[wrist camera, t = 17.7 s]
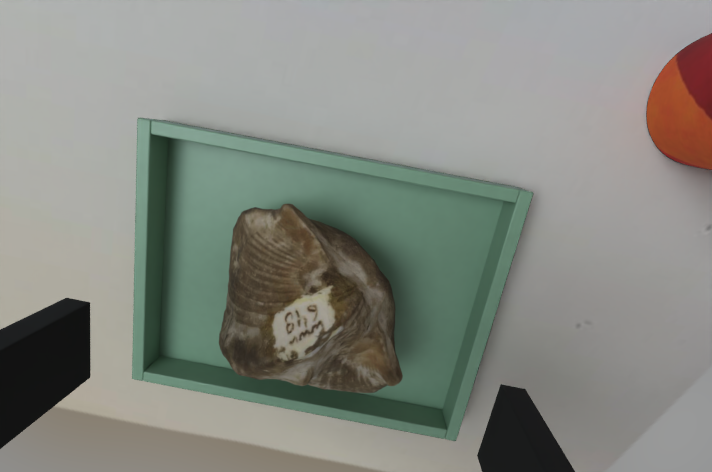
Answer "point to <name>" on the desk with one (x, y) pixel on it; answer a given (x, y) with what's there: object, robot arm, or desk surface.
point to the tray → (342, 211)
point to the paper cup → (684, 106)
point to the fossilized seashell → (307, 305)
